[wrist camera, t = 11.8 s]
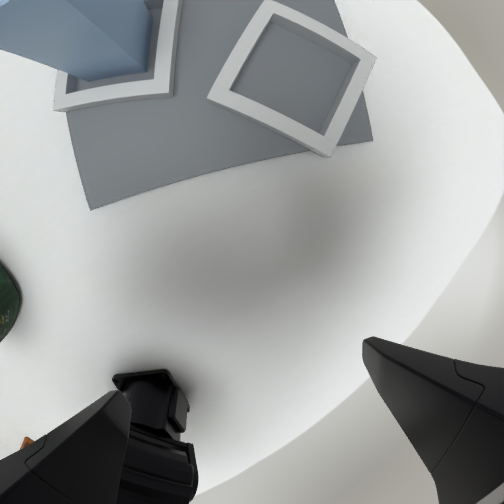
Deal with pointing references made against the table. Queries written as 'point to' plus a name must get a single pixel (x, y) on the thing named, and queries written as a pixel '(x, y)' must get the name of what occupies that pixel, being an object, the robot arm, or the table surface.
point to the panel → (202, 127)
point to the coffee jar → (7, 303)
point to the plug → (79, 35)
